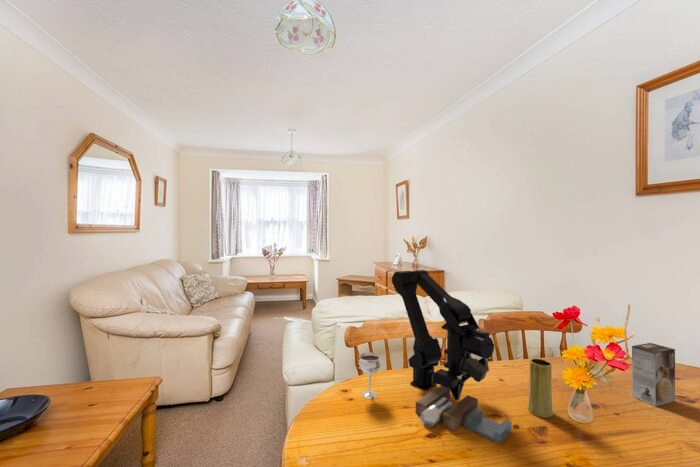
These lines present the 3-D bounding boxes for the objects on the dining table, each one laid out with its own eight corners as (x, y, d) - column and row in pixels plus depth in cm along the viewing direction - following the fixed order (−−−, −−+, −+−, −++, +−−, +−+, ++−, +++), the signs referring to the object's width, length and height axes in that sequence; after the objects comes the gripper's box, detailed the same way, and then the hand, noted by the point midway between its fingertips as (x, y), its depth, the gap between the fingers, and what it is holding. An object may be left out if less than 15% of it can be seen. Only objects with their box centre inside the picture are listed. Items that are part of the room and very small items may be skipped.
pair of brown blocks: (415, 412, 90) (415, 401, 90) (441, 395, 99) (441, 385, 99) (453, 431, 81) (453, 418, 81) (477, 410, 91) (477, 399, 91)
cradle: (464, 427, 83) (464, 417, 83) (476, 416, 88) (476, 407, 88) (501, 444, 77) (501, 433, 76) (511, 431, 81) (511, 421, 81)
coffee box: (650, 392, 102) (650, 342, 102) (675, 402, 96) (676, 349, 96) (631, 396, 99) (631, 345, 99) (656, 407, 93) (656, 352, 93)
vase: (556, 419, 87) (557, 367, 87) (532, 416, 88) (532, 365, 88) (547, 407, 93) (548, 358, 93) (524, 405, 94) (525, 356, 94)
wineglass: (355, 397, 98) (355, 358, 98) (362, 387, 104) (363, 351, 104) (376, 402, 95) (376, 362, 95) (382, 391, 101) (383, 354, 101)
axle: (434, 429, 82) (433, 413, 82) (421, 424, 85) (419, 409, 85) (453, 414, 89) (452, 399, 89) (440, 410, 92) (439, 395, 92)
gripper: (469, 364, 82) (468, 424, 82) (497, 346, 95) (497, 398, 95) (431, 352, 90) (430, 407, 90) (462, 337, 103) (461, 385, 103)
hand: (456, 399), depth 95 cm, fingers closed
